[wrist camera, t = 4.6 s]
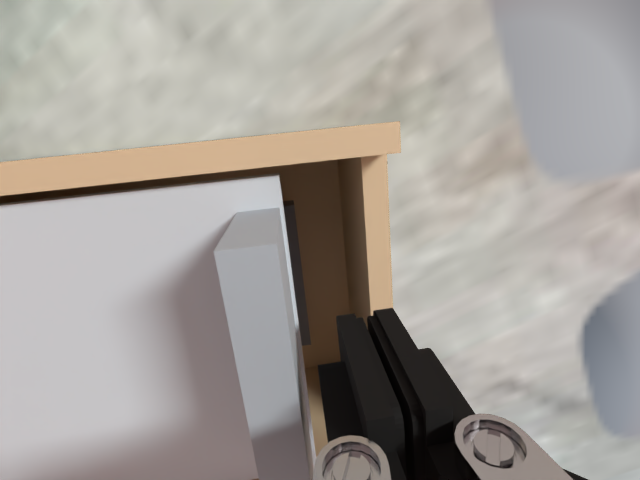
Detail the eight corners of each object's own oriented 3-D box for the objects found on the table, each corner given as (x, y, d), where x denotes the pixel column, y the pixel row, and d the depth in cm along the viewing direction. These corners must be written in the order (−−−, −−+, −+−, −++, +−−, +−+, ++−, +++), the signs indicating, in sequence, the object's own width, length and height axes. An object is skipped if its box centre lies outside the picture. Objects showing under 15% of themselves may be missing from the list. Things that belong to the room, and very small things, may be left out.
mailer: (-63, 168, 15) (-365, 199, 8) (350, 126, 16) (399, 121, 9) (38, 412, 19) (-107, 576, 12) (366, 364, 20) (410, 488, 13)
